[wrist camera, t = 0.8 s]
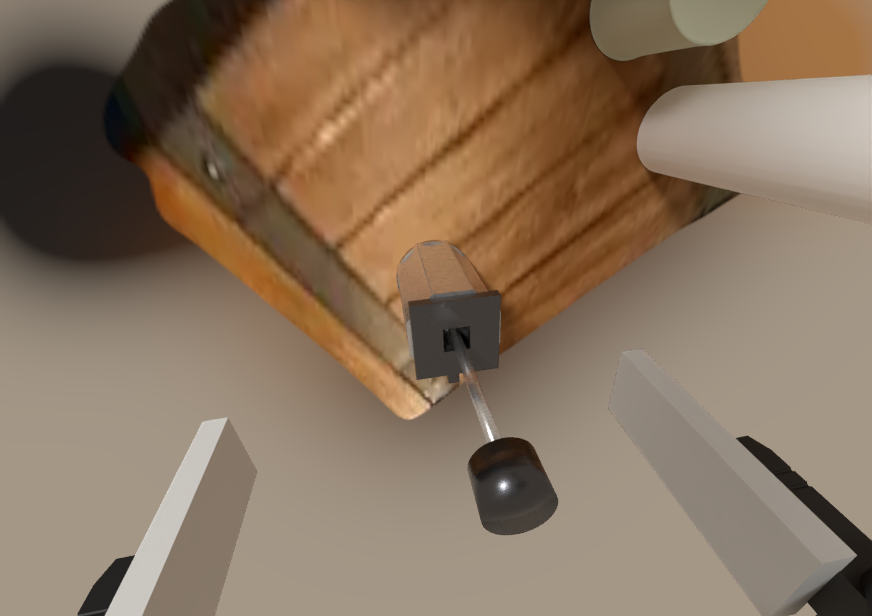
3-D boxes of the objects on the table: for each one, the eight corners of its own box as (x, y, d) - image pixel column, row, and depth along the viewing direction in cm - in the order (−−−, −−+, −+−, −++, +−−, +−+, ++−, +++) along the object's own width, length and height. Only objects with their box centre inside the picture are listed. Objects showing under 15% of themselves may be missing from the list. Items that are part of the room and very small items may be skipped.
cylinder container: (685, 179, 47) (1075, 273, 21) (623, 164, 45) (972, 248, 19) (727, 97, 43) (1278, 85, 17) (660, 76, 40) (1177, 25, 15)
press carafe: (392, 244, 45) (401, 301, 32) (469, 236, 46) (507, 288, 33) (402, 329, 51) (413, 405, 38) (470, 320, 52) (502, 392, 39)
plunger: (416, 299, 35) (459, 484, 18) (482, 290, 36) (584, 461, 19) (421, 354, 39) (462, 555, 21) (482, 345, 39) (569, 533, 22)
